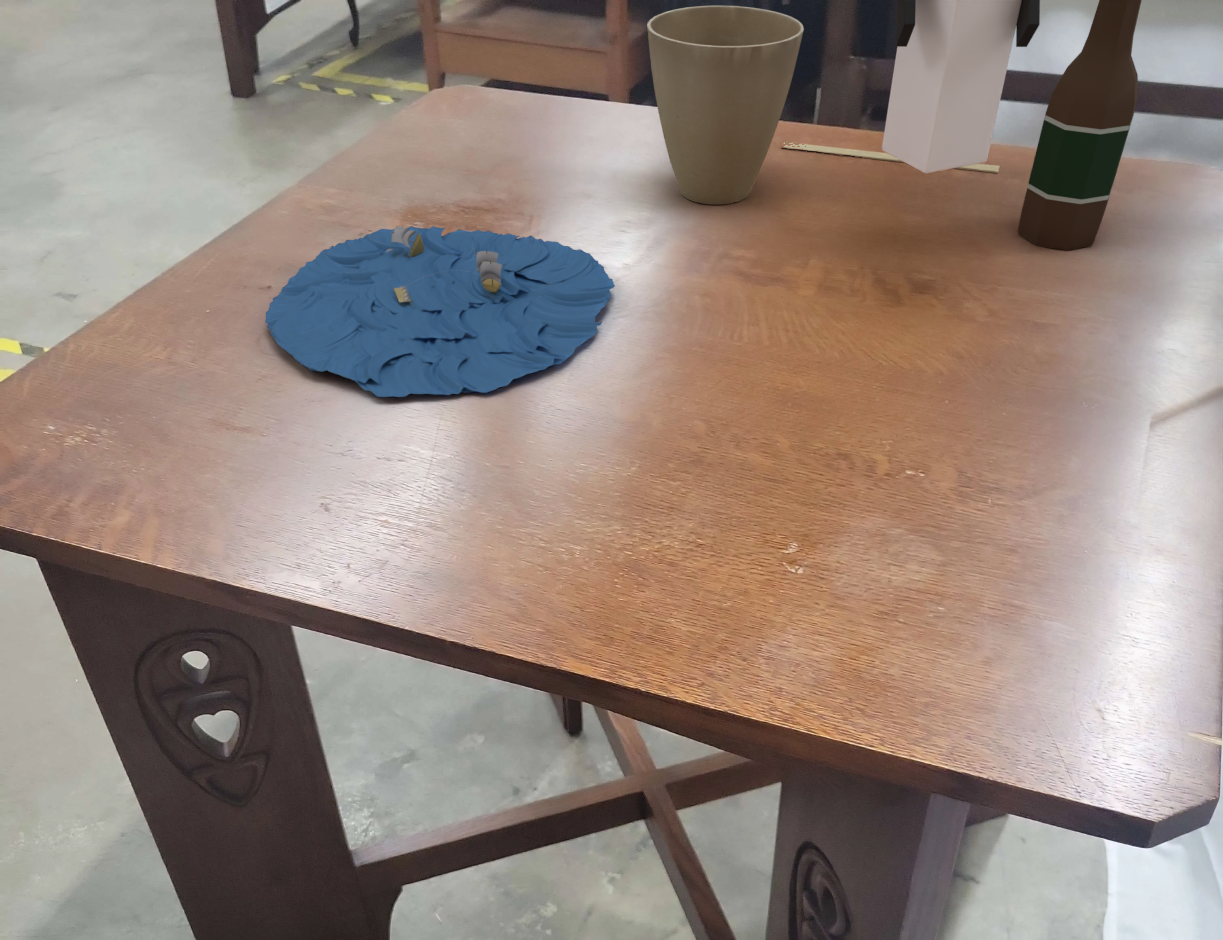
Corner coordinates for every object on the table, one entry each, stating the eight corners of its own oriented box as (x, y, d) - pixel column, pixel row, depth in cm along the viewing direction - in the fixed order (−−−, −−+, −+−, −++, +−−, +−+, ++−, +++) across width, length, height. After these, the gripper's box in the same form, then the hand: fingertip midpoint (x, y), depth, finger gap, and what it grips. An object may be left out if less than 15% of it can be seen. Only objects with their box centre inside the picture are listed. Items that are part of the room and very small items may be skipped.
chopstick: (999, 167, 117) (1000, 165, 117) (997, 173, 115) (998, 171, 115) (784, 143, 123) (785, 141, 123) (781, 148, 122) (781, 146, 122)
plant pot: (684, 230, 105) (690, 53, 95) (622, 179, 115) (621, 15, 105) (814, 204, 110) (834, 33, 99) (744, 158, 120) (755, -2, 109)
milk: (987, 163, 85) (1065, -182, 70) (924, 175, 83) (990, -176, 68) (939, 139, 89) (1003, -191, 74) (878, 150, 87) (932, -187, 72)
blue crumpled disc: (686, 347, 90) (690, 289, 86) (349, 450, 78) (338, 388, 75) (521, 217, 108) (519, 165, 104) (227, 285, 96) (213, 229, 93)
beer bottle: (998, 234, 104) (1066, -53, 87) (1043, 212, 107) (1115, -66, 91) (1071, 259, 99) (1156, -39, 83) (1114, 235, 103) (1204, -53, 87)
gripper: (1096, -226, 81) (1093, 65, 80) (820, -223, 82) (813, 64, 81) (1140, -316, 74) (1137, 3, 73) (836, -312, 75) (828, 3, 74)
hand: (966, 35), depth 77 cm, fingers closed on milk, 8 cm apart
